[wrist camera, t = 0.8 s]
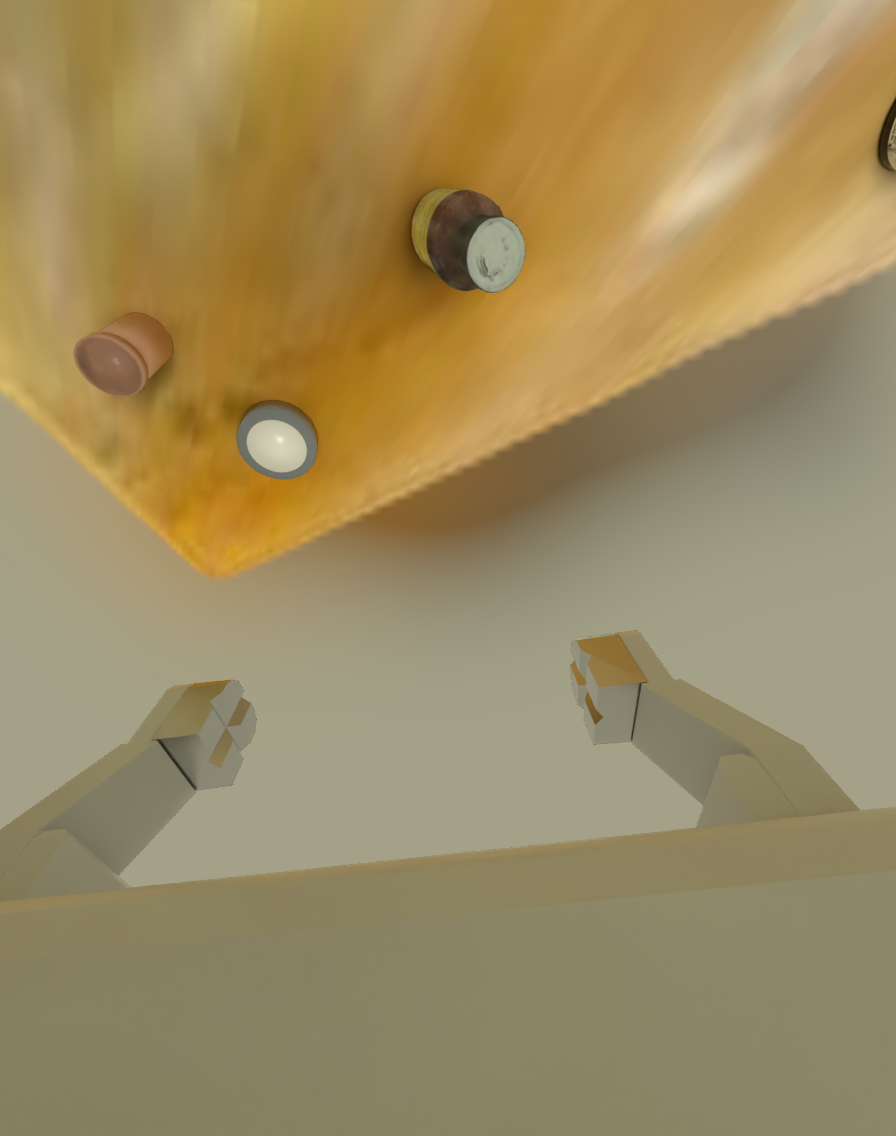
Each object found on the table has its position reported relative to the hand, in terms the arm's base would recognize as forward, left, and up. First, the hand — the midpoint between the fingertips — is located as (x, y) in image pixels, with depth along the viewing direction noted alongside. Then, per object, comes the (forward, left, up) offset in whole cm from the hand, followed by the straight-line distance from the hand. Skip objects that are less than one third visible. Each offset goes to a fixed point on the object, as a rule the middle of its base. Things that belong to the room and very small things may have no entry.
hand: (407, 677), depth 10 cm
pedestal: (+16, -12, -47) cm, 51 cm away
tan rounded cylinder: (+5, -23, -47) cm, 52 cm away
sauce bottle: (-5, +8, -47) cm, 48 cm away
